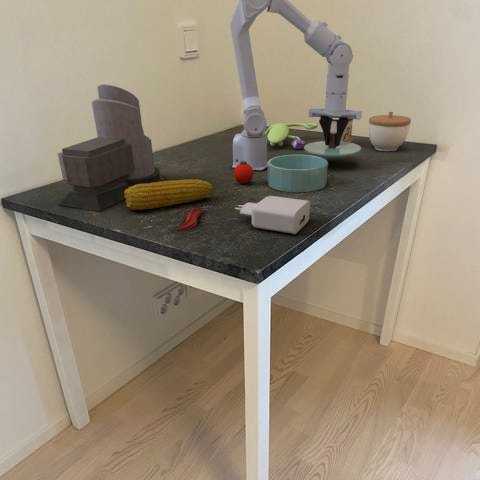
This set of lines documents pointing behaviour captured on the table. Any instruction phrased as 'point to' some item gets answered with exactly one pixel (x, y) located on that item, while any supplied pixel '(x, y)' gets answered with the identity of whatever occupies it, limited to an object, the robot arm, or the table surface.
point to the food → (166, 193)
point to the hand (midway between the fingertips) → (332, 145)
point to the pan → (297, 173)
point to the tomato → (243, 172)
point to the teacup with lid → (347, 132)
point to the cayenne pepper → (191, 219)
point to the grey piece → (109, 154)
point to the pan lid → (332, 147)
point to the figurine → (286, 134)
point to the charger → (278, 214)
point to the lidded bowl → (388, 131)
